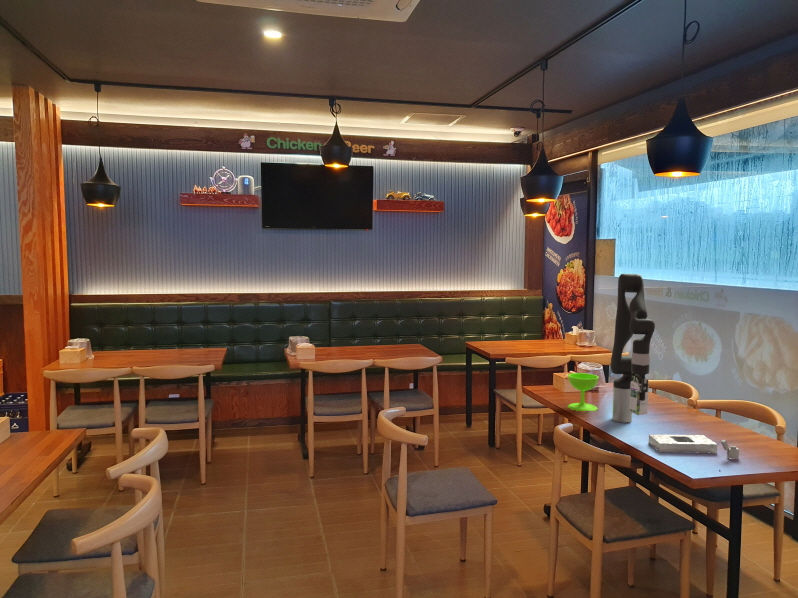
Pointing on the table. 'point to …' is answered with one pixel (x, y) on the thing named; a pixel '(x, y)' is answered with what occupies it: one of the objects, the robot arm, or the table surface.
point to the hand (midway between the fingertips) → (638, 398)
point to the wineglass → (582, 389)
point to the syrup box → (637, 400)
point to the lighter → (730, 450)
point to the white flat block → (682, 443)
